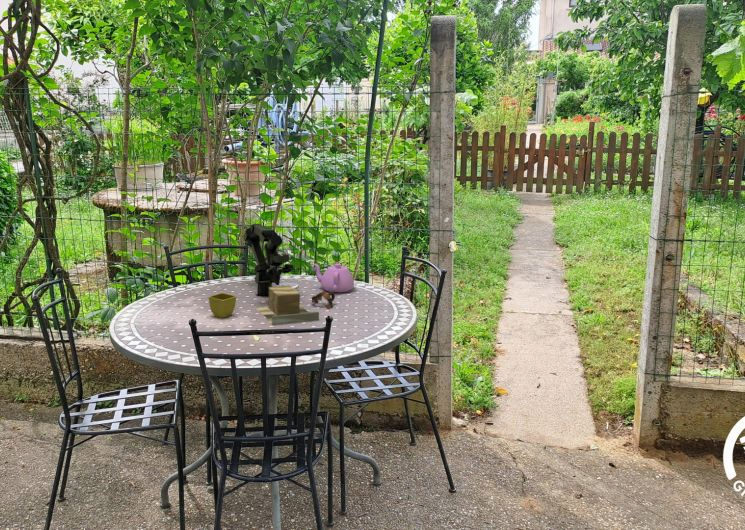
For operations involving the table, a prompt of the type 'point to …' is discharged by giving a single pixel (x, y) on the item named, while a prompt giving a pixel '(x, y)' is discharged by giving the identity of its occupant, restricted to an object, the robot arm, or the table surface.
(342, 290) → the teapot
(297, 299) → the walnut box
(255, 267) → the robot arm
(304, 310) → the board
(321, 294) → the brown piece
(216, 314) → the flower pot
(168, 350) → the table surface
